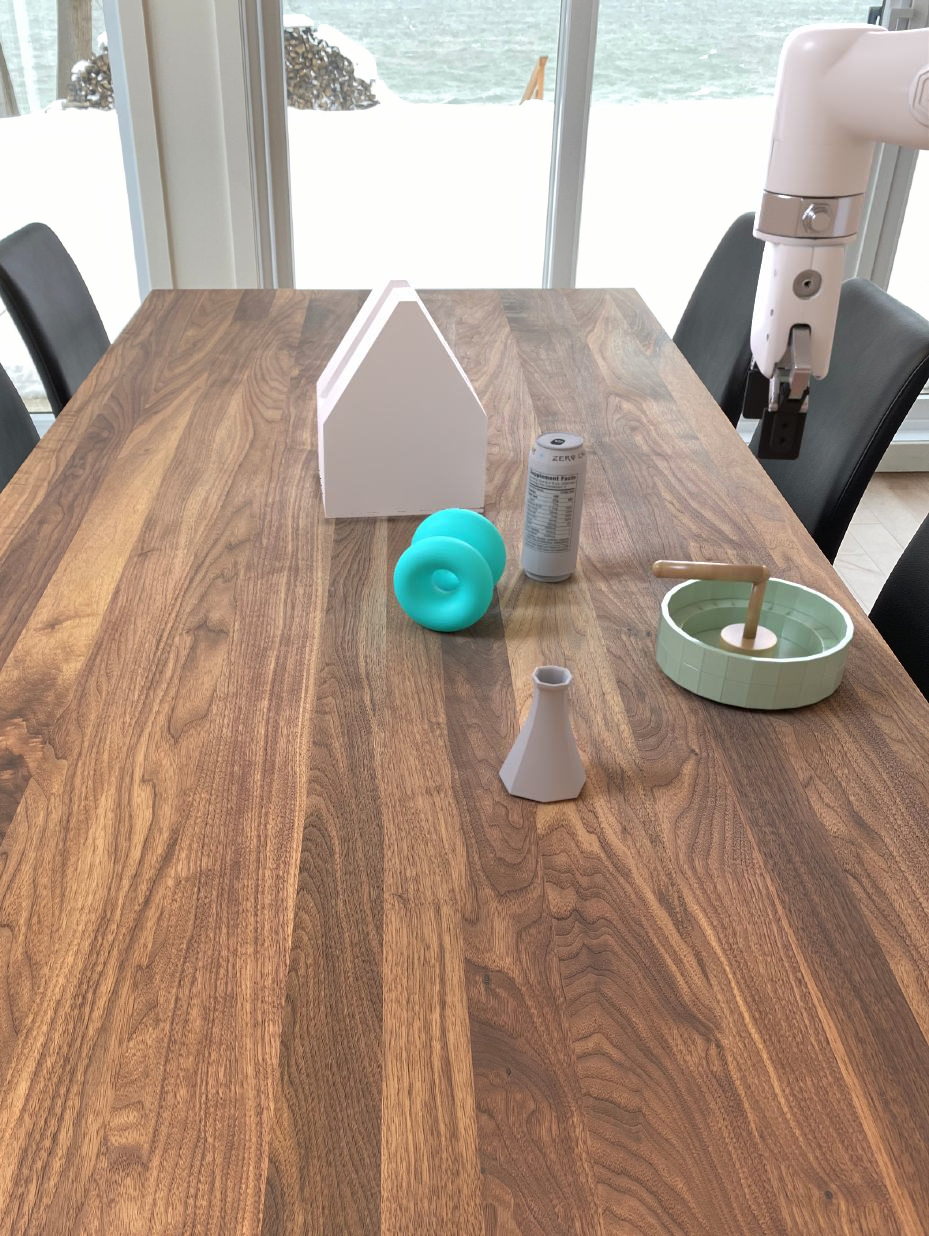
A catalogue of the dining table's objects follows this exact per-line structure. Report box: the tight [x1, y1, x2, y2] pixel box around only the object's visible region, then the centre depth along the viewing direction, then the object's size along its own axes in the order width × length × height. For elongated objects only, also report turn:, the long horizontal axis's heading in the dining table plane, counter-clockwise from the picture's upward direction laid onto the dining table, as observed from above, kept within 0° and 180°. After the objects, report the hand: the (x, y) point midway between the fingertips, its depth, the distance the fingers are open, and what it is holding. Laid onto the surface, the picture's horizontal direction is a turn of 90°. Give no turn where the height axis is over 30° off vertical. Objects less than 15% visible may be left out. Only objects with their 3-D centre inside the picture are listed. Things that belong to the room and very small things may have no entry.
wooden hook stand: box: [651, 559, 778, 659], centre depth 110 cm, size 12×5×10 cm, turn 82°
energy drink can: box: [520, 431, 589, 583], centre depth 126 cm, size 6×6×15 cm
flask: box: [498, 665, 587, 803], centre depth 95 cm, size 7×7×10 cm
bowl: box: [653, 577, 855, 710], centre depth 111 cm, size 17×17×6 cm
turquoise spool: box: [393, 508, 507, 633], centre depth 119 cm, size 10×10×10 cm
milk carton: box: [316, 267, 489, 519], centre depth 142 cm, size 19×15×25 cm
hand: (768, 437), depth 98 cm, fingers open, 9 cm apart
